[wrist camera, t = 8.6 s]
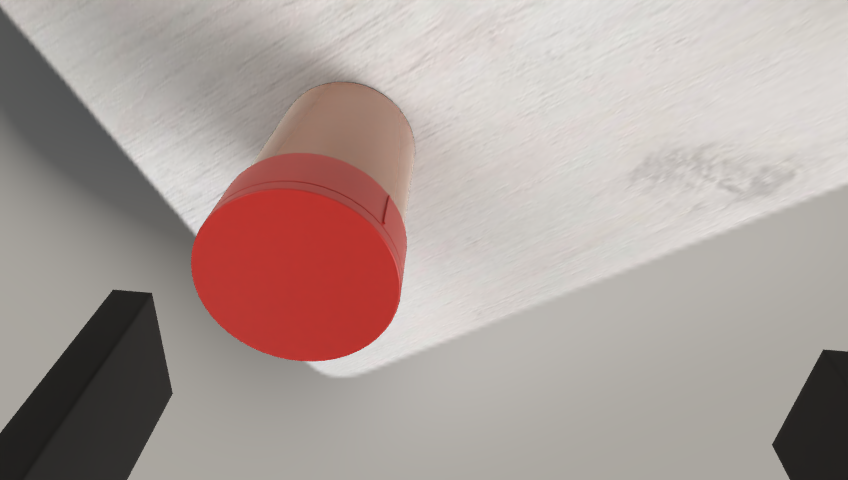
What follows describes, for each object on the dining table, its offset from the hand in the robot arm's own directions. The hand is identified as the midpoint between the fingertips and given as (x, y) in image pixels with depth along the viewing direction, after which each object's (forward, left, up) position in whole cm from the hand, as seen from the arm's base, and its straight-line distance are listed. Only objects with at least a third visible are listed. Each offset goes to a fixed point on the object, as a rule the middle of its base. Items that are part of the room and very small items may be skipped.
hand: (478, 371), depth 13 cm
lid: (-4, +7, -10) cm, 12 cm away
